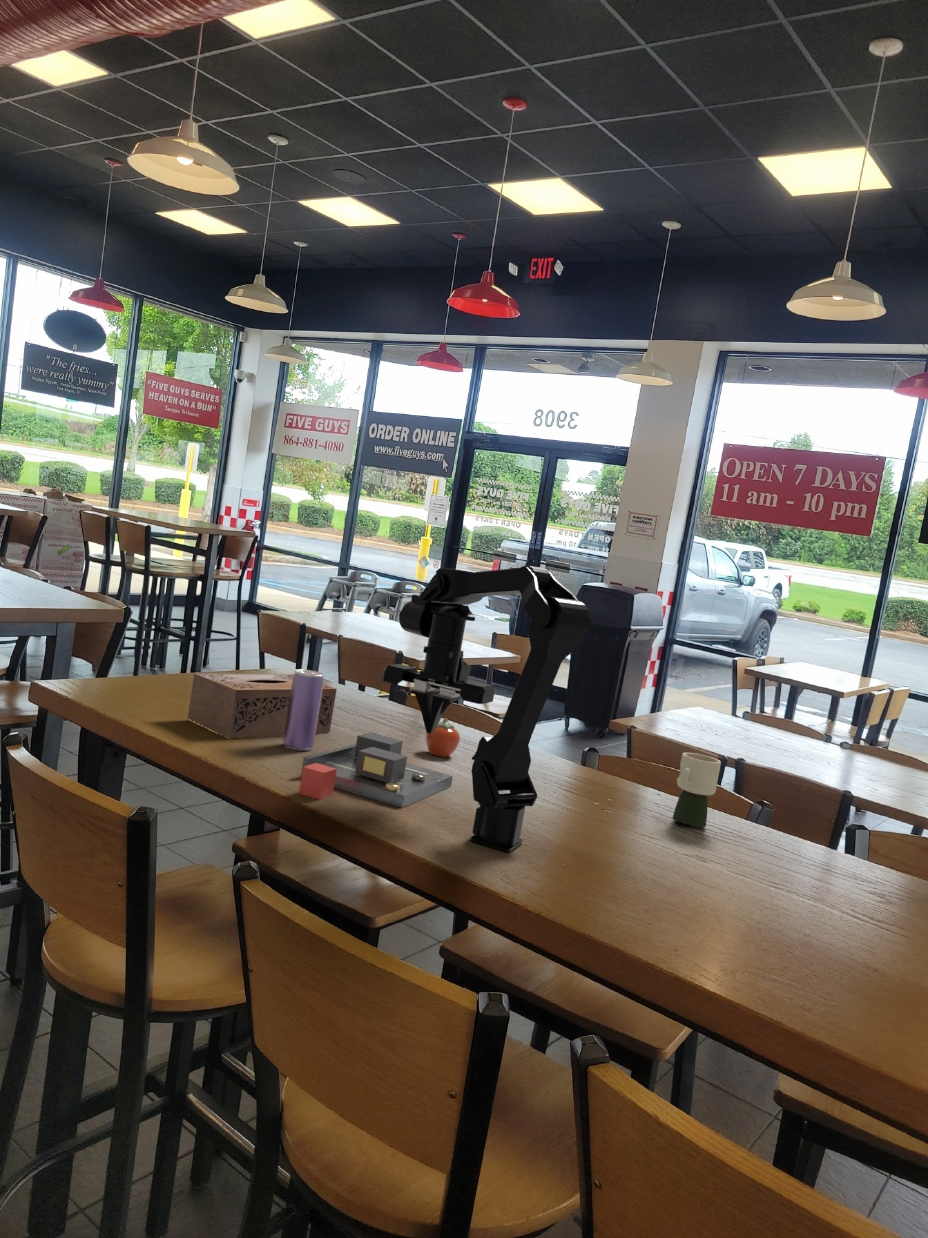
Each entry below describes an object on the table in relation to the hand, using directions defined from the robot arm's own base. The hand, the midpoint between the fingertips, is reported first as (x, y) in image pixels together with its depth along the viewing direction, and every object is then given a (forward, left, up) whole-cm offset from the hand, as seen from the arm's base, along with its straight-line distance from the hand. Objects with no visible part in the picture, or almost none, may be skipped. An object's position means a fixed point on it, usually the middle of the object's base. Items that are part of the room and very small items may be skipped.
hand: (429, 733), depth 151 cm
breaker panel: (+10, -4, -12) cm, 16 cm away
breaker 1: (+14, -10, -10) cm, 20 cm away
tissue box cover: (+46, -18, -12) cm, 51 cm away
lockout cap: (+13, +12, -12) cm, 21 cm away
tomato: (+12, -35, -12) cm, 39 cm away
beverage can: (+32, -11, -12) cm, 36 cm away
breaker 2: (+8, 0, -10) cm, 12 cm away
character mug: (-41, -33, -12) cm, 54 cm away
